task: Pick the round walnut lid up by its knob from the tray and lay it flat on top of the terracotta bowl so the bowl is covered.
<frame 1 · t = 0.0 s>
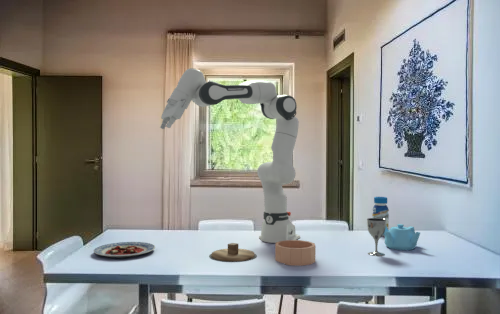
hand: (164, 127, 181), 54 cm above the table, tool tilted 30°, fingers open, 8 cm apart
bowl: (295, 260, 169), on the table
beverage bottle: (380, 235, 222), on the table
teapot: (399, 247, 192), on the table
wine glass: (376, 254, 179), on the table
lid: (233, 255, 174), resting on tray
ceramic plate: (125, 253, 181), on the table
tray: (233, 256, 174), on the table
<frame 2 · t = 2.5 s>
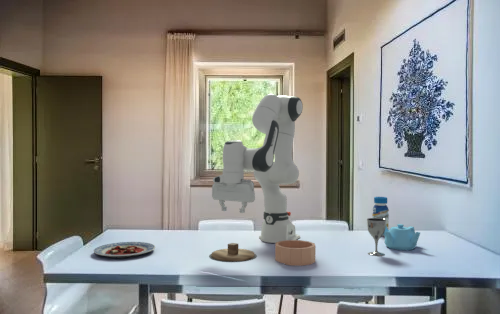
hand: (233, 211, 174), 19 cm above the table, tool pointing down, fingers open, 8 cm apart
nothing on the table moved.
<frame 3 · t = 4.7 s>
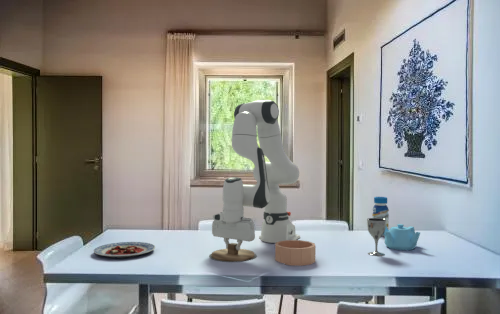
hand: (233, 249, 174), 3 cm above the table, tool pointing down, fingers closed on lid, 3 cm apart
lid: (233, 255, 174), resting on tray, touching gripper
everything else where it was.
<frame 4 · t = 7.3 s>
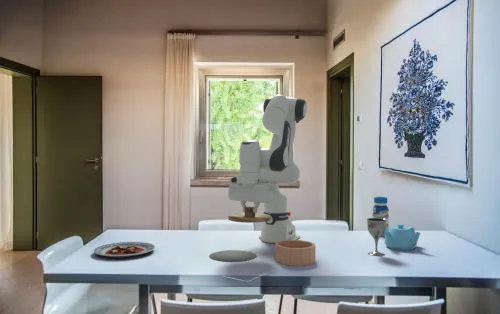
hand: (250, 212, 173), 19 cm above the table, tool pointing down, fingers closed on lid, 3 cm apart
lid: (249, 218, 173), point 16 cm above the table, touching gripper
everything else where it was.
when the fingers open (11 cm above the table, at t = 10.3 s): lid drops 1 cm, resting on bowl.
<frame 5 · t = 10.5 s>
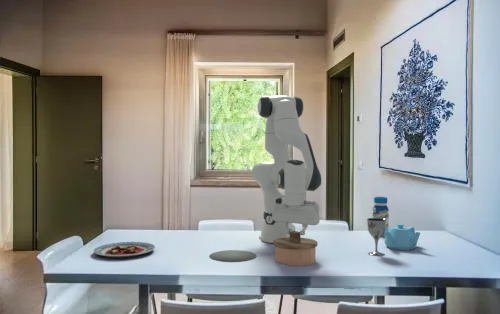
hand: (295, 234, 169), 11 cm above the table, tool pointing down, fingers open, 5 cm apart
lid: (295, 244, 169), point 6 cm above the table, touching bowl
everything else where it was.
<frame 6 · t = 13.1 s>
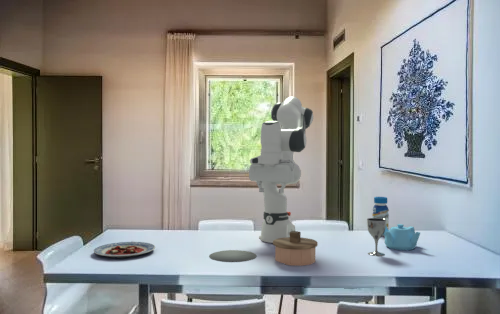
hand: (271, 192, 174), 27 cm above the table, tool pointing down, fingers open, 8 cm apart
nothing on the table moved.
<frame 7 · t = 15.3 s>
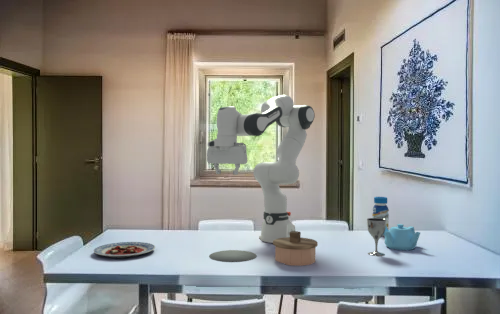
hand: (226, 174, 183), 34 cm above the table, tool pointing down, fingers open, 8 cm apart
nothing on the table moved.
at the end: lid 0.1 cm off-centre on the bowl, point 6.5 cm above the bowl's base; lid tilted 0°; the gripper is holding nothing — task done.
